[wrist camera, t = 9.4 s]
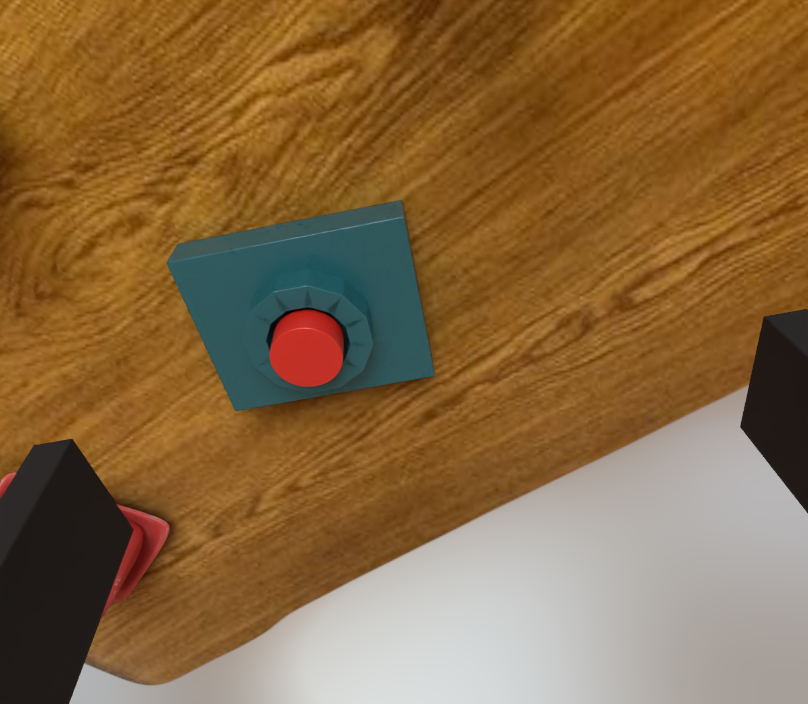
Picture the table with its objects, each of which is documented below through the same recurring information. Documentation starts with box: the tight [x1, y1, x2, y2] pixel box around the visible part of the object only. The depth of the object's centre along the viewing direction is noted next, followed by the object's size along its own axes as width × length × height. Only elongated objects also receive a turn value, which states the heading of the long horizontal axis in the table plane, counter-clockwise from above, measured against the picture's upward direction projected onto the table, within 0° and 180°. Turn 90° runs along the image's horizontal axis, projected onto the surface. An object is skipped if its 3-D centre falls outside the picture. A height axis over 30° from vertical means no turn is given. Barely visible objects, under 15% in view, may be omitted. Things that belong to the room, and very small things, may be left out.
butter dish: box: [0, 472, 170, 618], centre depth 40 cm, size 12×12×8 cm
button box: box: [167, 200, 435, 411], centre depth 32 cm, size 12×10×4 cm
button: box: [270, 309, 344, 387], centre depth 30 cm, size 4×4×2 cm
